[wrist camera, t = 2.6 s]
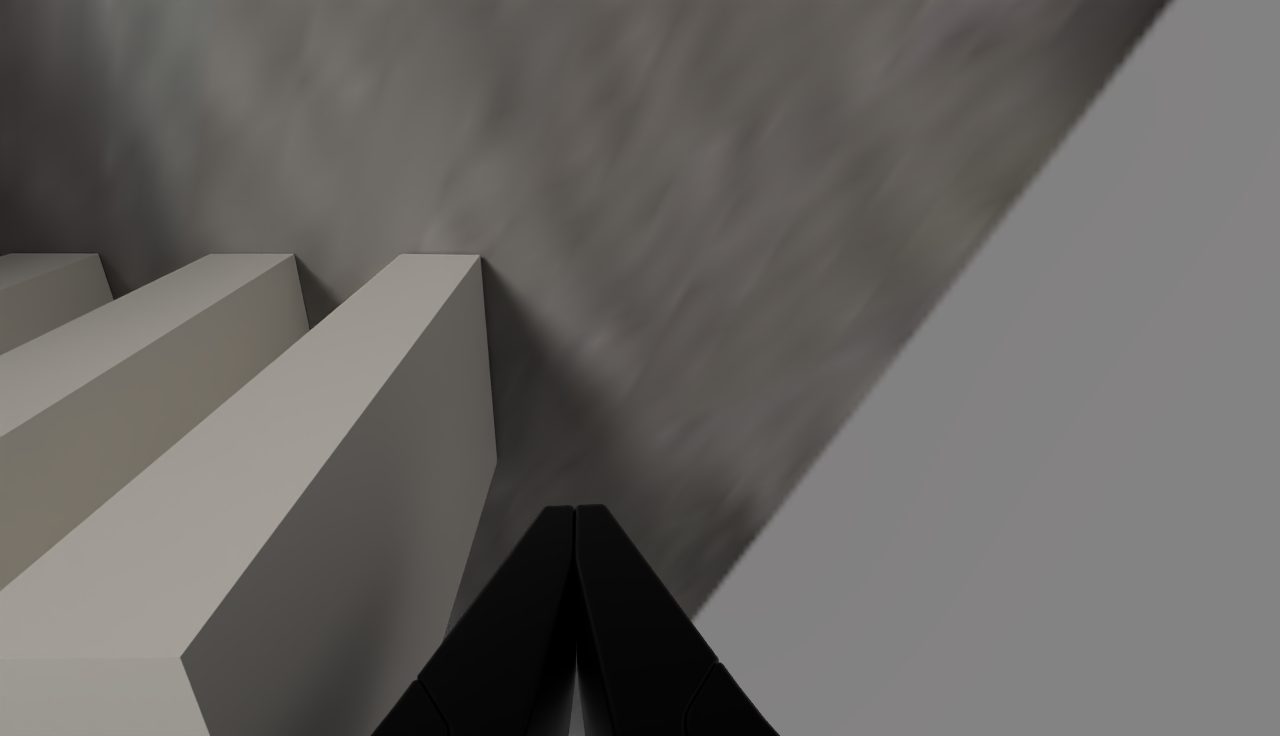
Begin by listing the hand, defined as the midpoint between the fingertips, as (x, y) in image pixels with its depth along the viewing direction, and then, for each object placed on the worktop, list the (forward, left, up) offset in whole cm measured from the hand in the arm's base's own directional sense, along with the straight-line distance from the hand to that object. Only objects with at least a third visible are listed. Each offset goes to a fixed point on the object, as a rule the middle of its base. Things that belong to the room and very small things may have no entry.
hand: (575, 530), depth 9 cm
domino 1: (-3, 0, -6) cm, 6 cm away
